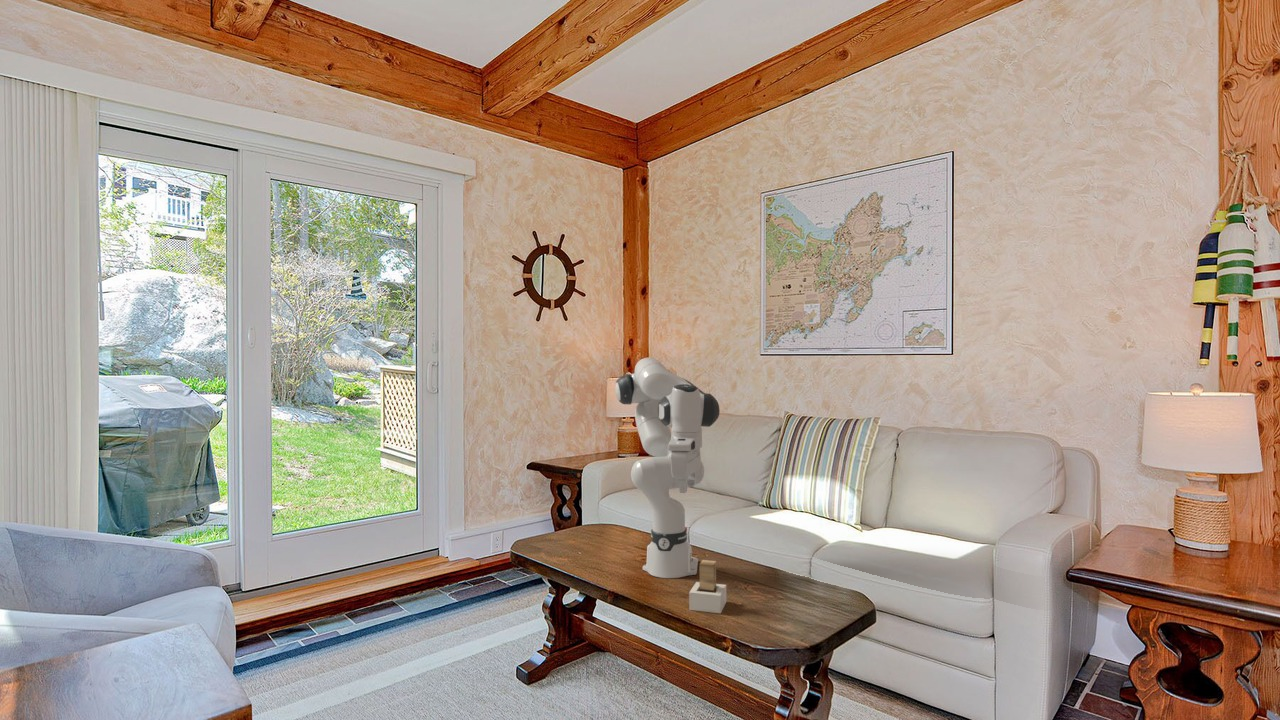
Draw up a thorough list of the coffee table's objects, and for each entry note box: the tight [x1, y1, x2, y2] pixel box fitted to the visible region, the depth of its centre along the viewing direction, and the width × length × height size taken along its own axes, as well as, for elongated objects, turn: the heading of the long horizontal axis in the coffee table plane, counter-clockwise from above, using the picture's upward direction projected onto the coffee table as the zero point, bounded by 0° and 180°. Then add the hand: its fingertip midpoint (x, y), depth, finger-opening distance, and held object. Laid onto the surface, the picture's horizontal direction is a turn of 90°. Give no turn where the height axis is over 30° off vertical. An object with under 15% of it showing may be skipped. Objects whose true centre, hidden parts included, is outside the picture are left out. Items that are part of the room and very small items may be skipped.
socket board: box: [688, 581, 727, 614], centre depth 184 cm, size 9×9×5 cm
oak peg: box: [698, 559, 717, 593], centre depth 185 cm, size 4×4×12 cm
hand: (687, 489), depth 183 cm, fingers open, 8 cm apart
